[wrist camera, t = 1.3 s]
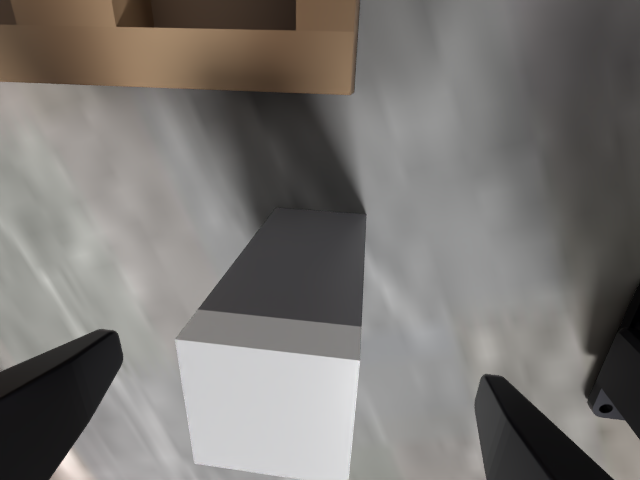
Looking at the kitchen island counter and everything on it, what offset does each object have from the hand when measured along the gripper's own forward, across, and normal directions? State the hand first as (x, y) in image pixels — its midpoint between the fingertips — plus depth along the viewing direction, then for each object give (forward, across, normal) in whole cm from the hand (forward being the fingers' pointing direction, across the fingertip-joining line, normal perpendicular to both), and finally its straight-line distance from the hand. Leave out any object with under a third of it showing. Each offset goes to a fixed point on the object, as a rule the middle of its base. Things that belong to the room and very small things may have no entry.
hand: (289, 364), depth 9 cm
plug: (+6, 0, 0) cm, 6 cm away
